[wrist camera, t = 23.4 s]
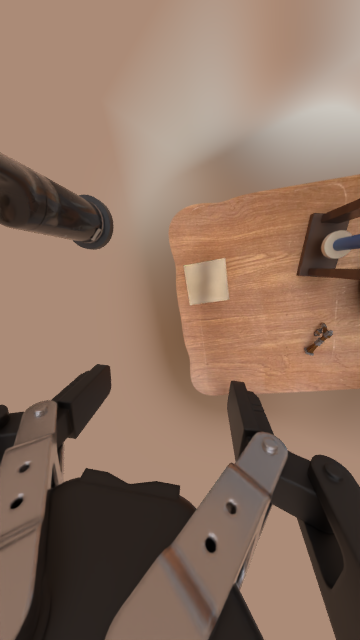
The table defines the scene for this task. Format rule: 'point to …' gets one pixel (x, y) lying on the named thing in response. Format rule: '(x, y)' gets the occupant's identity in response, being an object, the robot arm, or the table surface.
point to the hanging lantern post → (319, 339)
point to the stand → (316, 233)
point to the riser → (207, 281)
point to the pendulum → (339, 244)
